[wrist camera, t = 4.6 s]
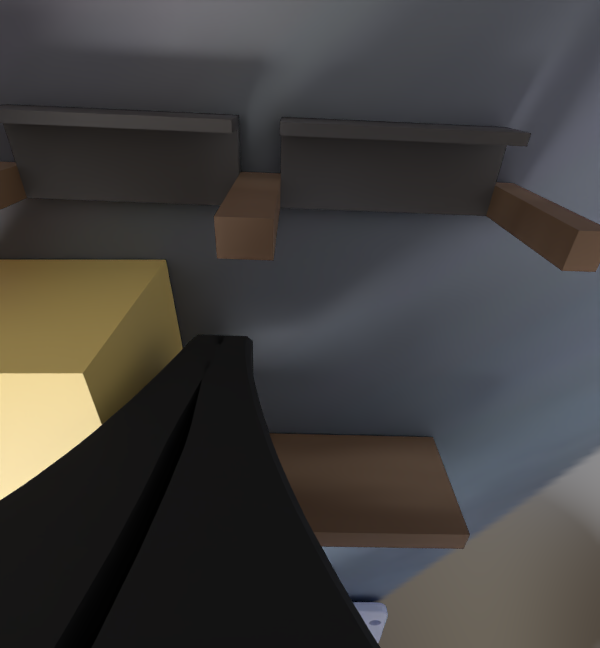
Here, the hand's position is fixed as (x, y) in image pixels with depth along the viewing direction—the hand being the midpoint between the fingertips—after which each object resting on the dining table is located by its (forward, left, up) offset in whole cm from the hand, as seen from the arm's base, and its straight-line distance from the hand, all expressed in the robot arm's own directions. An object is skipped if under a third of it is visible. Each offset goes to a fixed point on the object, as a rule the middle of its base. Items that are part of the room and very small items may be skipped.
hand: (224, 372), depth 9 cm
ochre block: (0, +3, -1) cm, 4 cm away
